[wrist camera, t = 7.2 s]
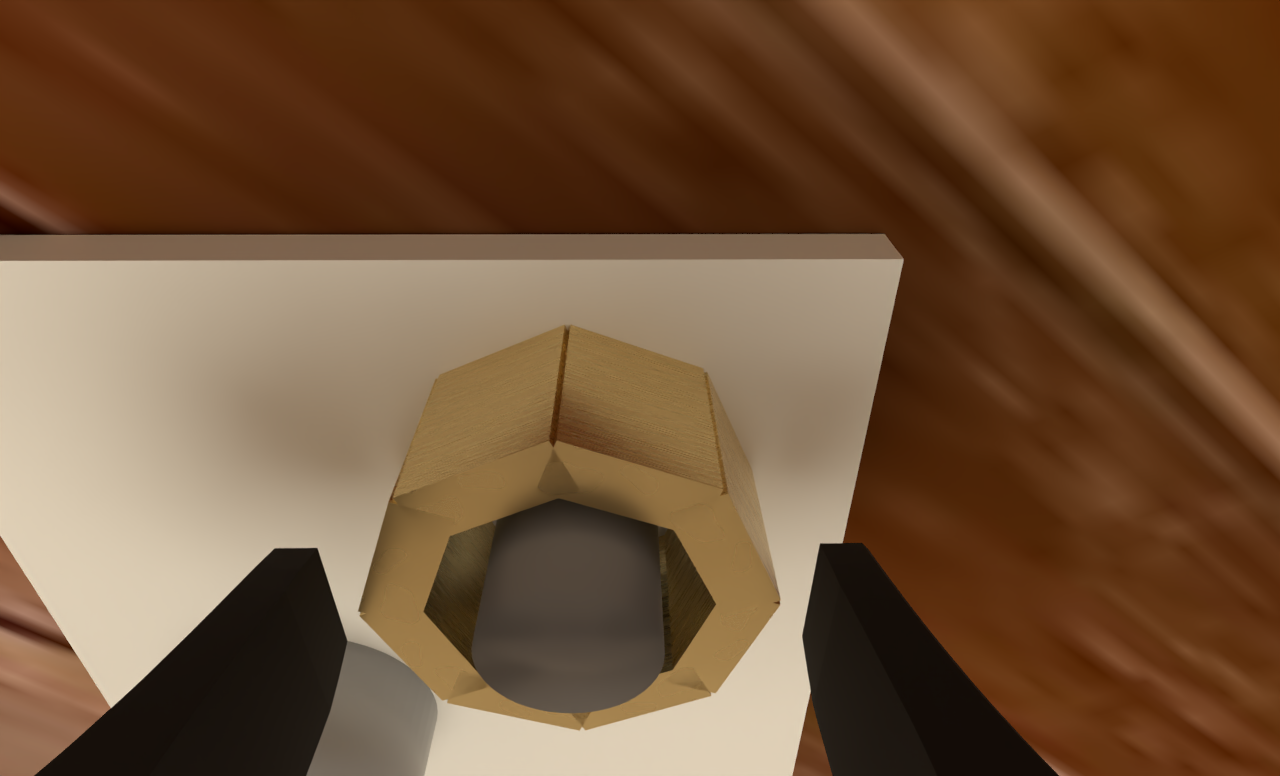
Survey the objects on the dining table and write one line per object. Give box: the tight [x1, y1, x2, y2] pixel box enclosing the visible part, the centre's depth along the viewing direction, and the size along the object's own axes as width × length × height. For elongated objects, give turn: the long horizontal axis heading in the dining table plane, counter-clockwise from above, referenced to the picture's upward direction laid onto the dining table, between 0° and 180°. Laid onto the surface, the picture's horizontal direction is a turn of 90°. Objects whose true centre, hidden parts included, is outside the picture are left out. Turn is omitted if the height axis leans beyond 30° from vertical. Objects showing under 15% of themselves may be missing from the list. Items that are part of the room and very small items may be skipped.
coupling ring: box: [358, 325, 781, 731], centre depth 12 cm, size 6×6×3 cm
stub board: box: [0, 234, 904, 776], centre depth 14 cm, size 16×15×5 cm
